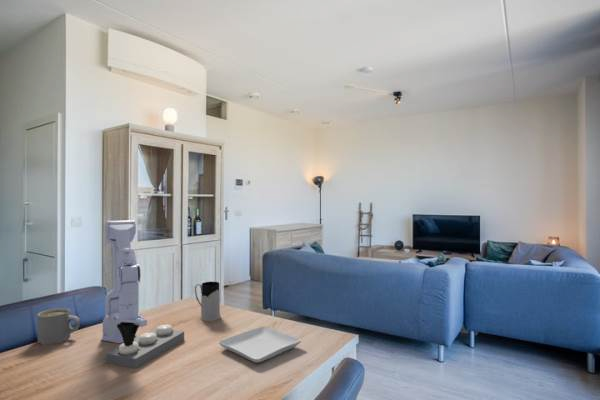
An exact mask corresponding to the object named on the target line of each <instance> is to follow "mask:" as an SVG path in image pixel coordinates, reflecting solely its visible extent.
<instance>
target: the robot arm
mask: <svg viewBox="0 0 600 400" xmlns="http://www.w3.org/2000/svg"><path fill="white" fill-rule="evenodd" d="M104 226H105V227H104V233H105V242H106V243H107V244H109V245H111V248H112V258H113V259H112V264H113V265H112V266H113V267H112V269H113V288H112V289H110V291H108V292H107V293H106V295H105V302H104V308H105V316H104V317H103V320H102V338H100V340H101V341H105V342H110V343H116V344H122V343H124V345H125V346H130V345H132V344H133V342H134V339H136V338H135V337H136V336H137V331H138V329H139V328H143V327H146V326H147V325H148V319H147V318H145V317H143V316H142V312H141V313H140V312H139V306H140V305H139V301H140V300H139V298H140V297H139V283H140V282H141V279H142V278H141V273H142V272H141V267H140V264H139V263H138V262H137V258H136V252H135V251H134V249H132V248H131V242H132V243H133V240H134V238H135V236H136V233H137V224H136V221H135V220H134V219H131V220H106V222H105V224H104Z"/></svg>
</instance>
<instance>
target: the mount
mask: <svg viewBox="0 0 600 400" xmlns="http://www.w3.org/2000/svg"><path fill="white" fill-rule="evenodd" d="M147 333H156V328H154V329H151V330H150V331H147ZM184 340H185V331H184V330H183V331H182V330H178V329H177V330H175V329H173V332H172V333H171V334H169V335H167V336H159V335H157V341H156V342H155V343H152V344H150V345H141V344H139V336H138V337H136V338H134V341H135V342H138V351H137V352H135V353H133V354H132V355H130V356H127V355H122V354H120V353H119V346H117V347H115V348H113V349H112V350H110V351H108V352H105V353H104V354H105V360H104V361H105V363H106V364H110V365H116V366H121V367H124V368H125V367H126V368H131V369H137V368H139V367H141V366H142V365H144V364H146V363H147V362H149V361H151V360H153V359H155V358H156V357H158V356H159V355H161V354H163V353H164V352H166V351H168V350H169V349H171V348H173V347H174V346H176V345H177V344H179V343H181V342H182V341H183V342H184Z"/></svg>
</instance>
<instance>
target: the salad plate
mask: <svg viewBox="0 0 600 400" xmlns="http://www.w3.org/2000/svg"><path fill="white" fill-rule="evenodd" d="M301 342H302V339H301V338H297V337H295V336H292V335H289V334H287V333H284V332H281V331H279V330H275V329H272V328H270V327H266V326H259V327H257V328H253V329H249V330H246V331H244V332H241V333H239V334H235V335H232V336H229V337H227V338H224V339H222V340H221V339H220V340H219V341H218V344H219V345H220V346H221V347H223V348H224V349H226V350H228V351H229V352H233V353H235V354H237V355H239V356H241V357H243V358H246V359H247V360H249V361H251V362H253V363H261V362H264V361H267V360H269V359H271V358H274V357H276V356H278V355H280V354H283V353H284V351H285V352H286V351H288V350H291V349H293V348H295V347H297V346H299V345H300V343H301ZM282 352H283V353H282Z"/></svg>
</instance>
